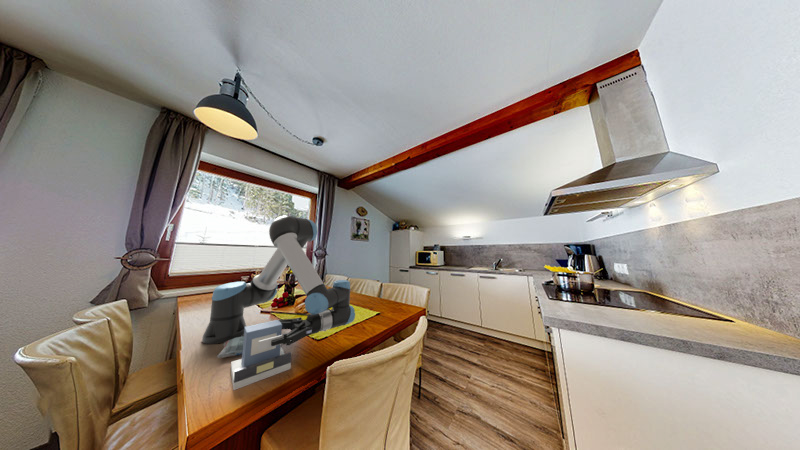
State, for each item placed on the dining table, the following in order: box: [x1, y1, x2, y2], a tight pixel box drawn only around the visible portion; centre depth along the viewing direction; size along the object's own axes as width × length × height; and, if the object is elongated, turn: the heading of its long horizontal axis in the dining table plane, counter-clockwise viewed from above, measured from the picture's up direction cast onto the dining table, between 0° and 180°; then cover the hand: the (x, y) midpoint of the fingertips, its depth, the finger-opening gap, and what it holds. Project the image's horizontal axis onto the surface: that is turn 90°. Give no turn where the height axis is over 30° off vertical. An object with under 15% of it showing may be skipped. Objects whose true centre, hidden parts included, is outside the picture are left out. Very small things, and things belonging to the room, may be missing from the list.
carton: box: [241, 319, 283, 368], centre depth 68 cm, size 6×10×12 cm, turn 134°
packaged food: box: [216, 335, 244, 358], centre depth 77 cm, size 9×12×5 cm
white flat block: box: [230, 347, 292, 391], centre depth 67 cm, size 14×15×5 cm
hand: (255, 338), depth 67 cm, fingers open, 13 cm apart
